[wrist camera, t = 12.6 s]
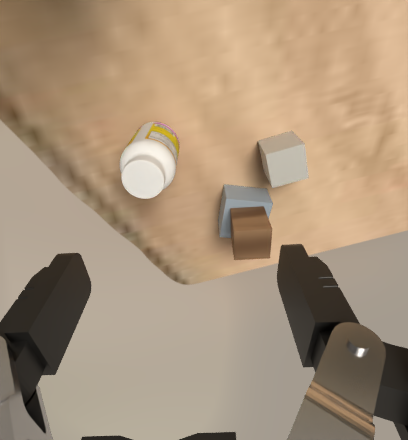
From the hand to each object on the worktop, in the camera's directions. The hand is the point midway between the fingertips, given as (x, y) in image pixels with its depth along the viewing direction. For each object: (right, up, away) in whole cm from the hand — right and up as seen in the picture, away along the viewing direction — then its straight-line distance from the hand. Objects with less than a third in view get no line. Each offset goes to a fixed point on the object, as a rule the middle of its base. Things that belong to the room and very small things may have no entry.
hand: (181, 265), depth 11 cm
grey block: (+12, +12, +31) cm, 35 cm away
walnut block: (+8, +2, +32) cm, 32 cm away
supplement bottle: (-6, +13, +30) cm, 33 cm away
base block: (+7, +4, +36) cm, 37 cm away
